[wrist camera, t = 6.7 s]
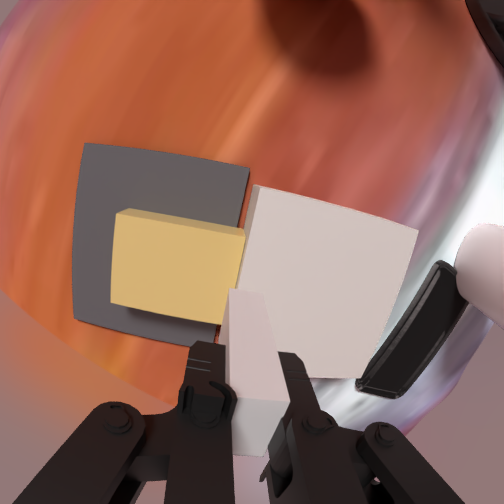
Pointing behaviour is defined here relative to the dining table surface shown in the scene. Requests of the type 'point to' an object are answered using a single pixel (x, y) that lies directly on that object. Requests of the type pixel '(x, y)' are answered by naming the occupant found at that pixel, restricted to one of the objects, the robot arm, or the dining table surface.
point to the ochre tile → (174, 264)
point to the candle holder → (483, 270)
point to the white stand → (323, 277)
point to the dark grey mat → (147, 199)
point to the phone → (416, 335)
